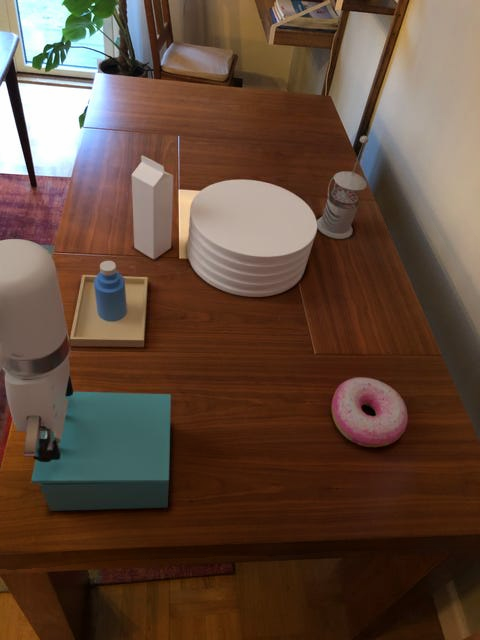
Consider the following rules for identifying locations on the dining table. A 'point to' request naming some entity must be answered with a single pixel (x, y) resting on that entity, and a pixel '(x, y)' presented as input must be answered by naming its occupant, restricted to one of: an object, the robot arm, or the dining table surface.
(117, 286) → the bottle
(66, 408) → the lid
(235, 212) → the plate stack
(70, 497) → the teal wooden box
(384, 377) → the dining table surface
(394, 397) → the donut
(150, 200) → the milk
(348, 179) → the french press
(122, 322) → the tray
